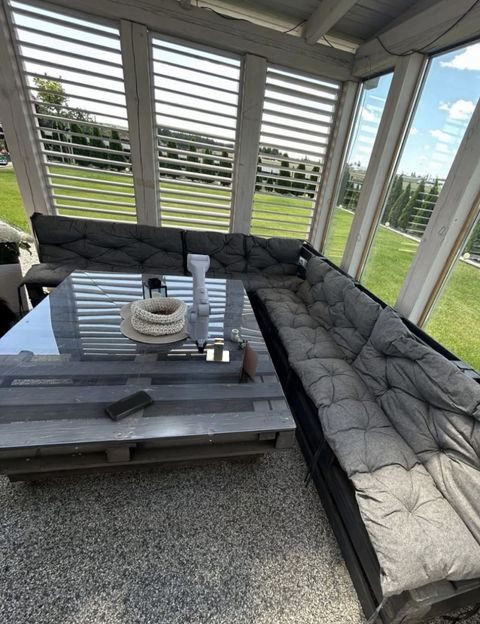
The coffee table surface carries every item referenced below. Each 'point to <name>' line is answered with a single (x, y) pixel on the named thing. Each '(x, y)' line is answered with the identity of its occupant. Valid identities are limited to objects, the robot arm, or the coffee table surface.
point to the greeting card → (249, 361)
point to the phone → (128, 405)
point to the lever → (212, 345)
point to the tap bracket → (218, 352)
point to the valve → (238, 339)
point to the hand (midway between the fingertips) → (201, 350)
